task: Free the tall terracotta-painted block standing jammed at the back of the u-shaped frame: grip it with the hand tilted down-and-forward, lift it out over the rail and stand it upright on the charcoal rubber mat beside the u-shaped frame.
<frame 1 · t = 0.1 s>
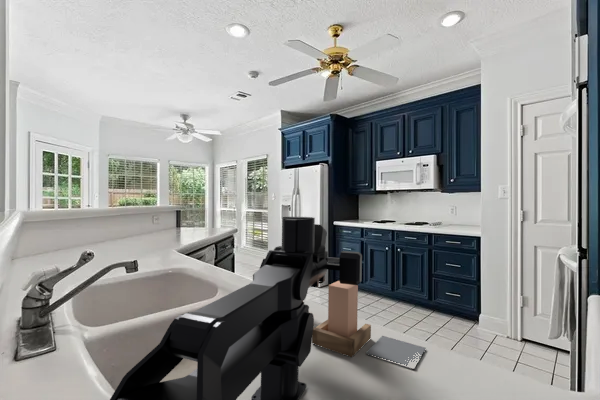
hand: (326, 257, 69), 17 cm above the counter, tool horizontal, fingers open, 9 cm apart
skincare box: (293, 315, 77), on the counter
mat: (396, 352, 59), on the counter
block: (342, 312, 63), in the u-shaped frame
u-shaped frame: (342, 340, 63), on the counter
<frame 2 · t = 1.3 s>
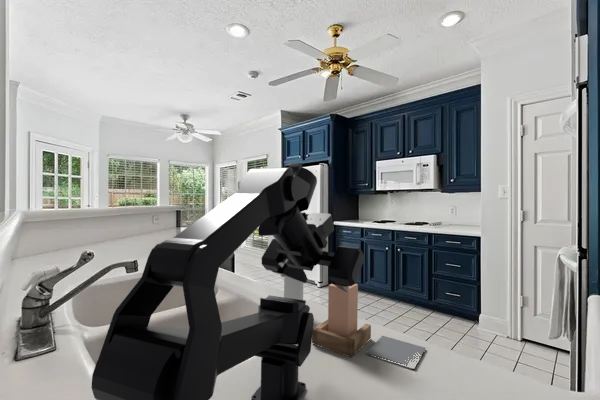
hand: (325, 285, 57), 14 cm above the counter, tool tilted 45°, fingers open, 9 cm apart
nothing on the counter moved.
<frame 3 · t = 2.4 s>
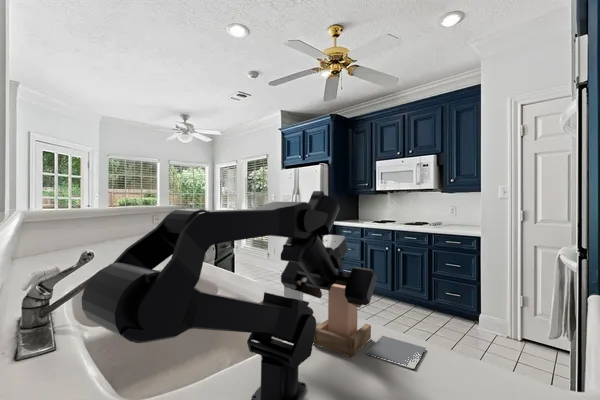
hand: (339, 300, 62), 9 cm above the counter, tool tilted 45°, fingers open, 9 cm apart
nothing on the counter moved.
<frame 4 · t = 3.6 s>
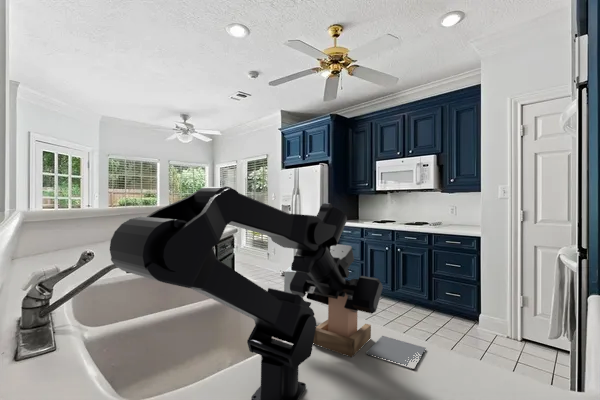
hand: (345, 307, 64), 7 cm above the counter, tool tilted 45°, fingers closed on block, 5 cm apart
block: (343, 312, 63), in the u-shaped frame, touching gripper
everything else where it was.
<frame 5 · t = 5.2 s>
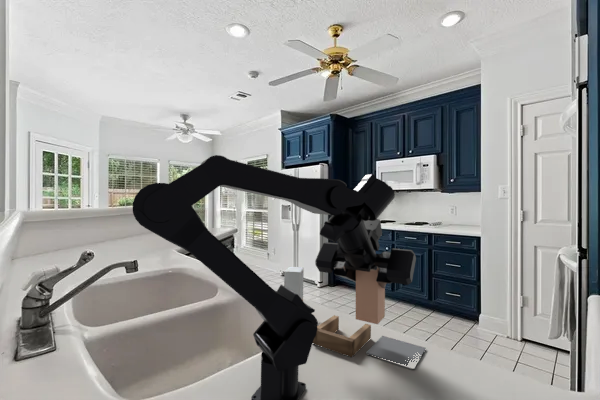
hand: (372, 284, 62), 12 cm above the counter, tool tilted 45°, fingers closed on block, 5 cm apart
block: (370, 288, 61), point 12 cm above the counter, touching gripper
everything else where it was.
when the fingers open (7 cm above the counter, at t = 6.7 s): block stays where it is, resting on mat.
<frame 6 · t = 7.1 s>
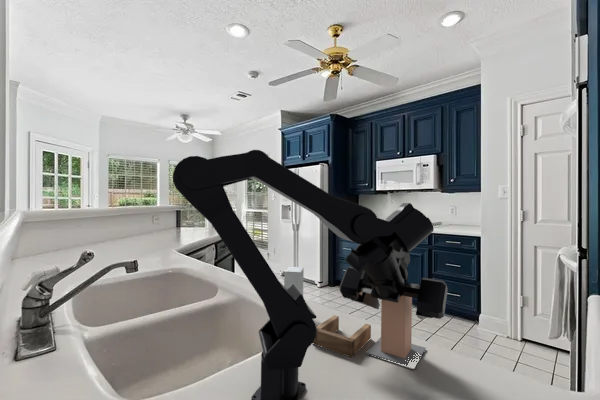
hand: (399, 311, 60), 8 cm above the counter, tool tilted 45°, fingers open, 8 cm apart
block: (396, 319, 59), on the mat
everything else where it was.
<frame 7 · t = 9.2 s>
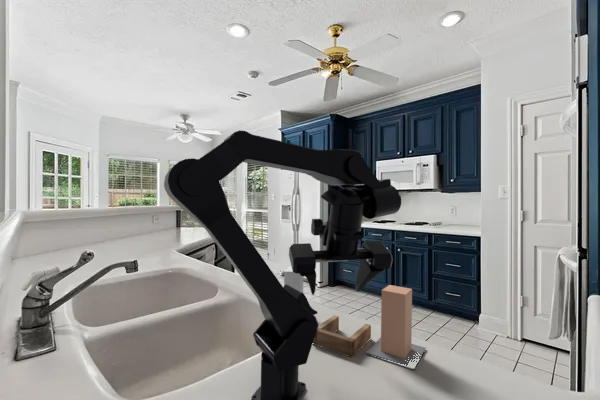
hand: (335, 291, 59), 12 cm above the counter, tool tilted 25°, fingers open, 9 cm apart
nothing on the counter moved.
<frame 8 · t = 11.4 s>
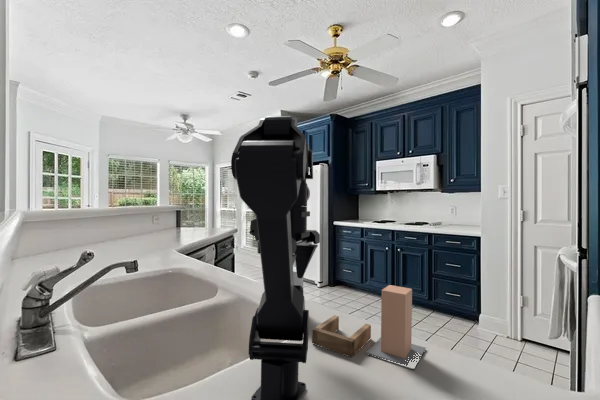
hand: (291, 283, 60), 13 cm above the counter, tool pointing down, fingers open, 9 cm apart
nothing on the counter moved.
at the end: block inside the target area on the mat (0.1 cm from its centre), point 6.4 cm above the mat's base; block tilted 0°; the gripper is holding nothing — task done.
